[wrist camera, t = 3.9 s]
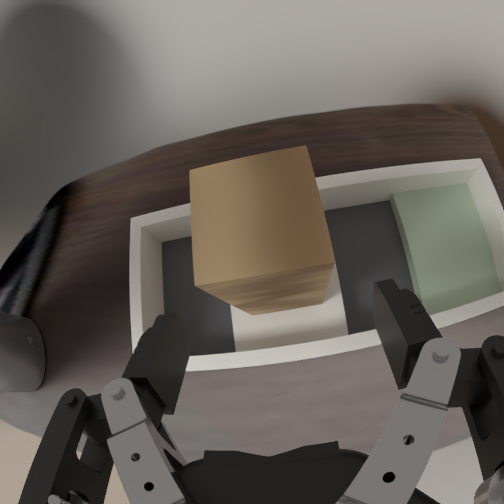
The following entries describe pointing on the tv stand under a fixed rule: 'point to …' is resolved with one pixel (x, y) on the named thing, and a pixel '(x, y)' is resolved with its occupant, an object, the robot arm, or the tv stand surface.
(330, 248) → the oak post
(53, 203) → the tv stand surface
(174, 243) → the box
